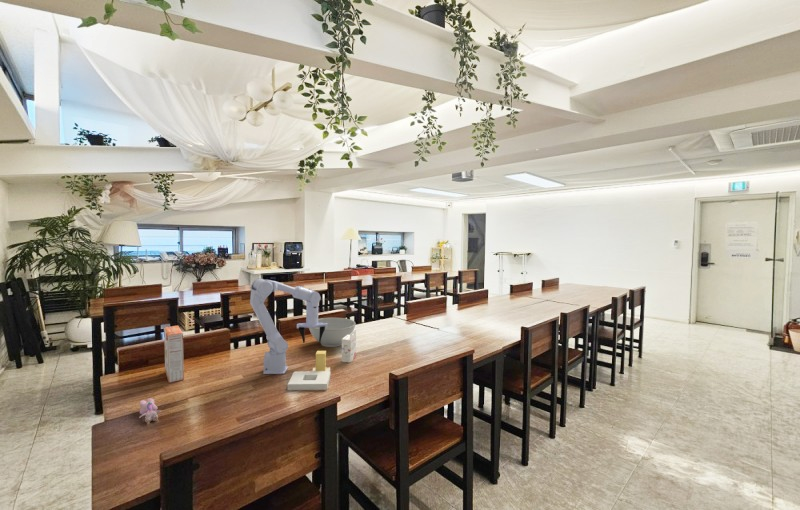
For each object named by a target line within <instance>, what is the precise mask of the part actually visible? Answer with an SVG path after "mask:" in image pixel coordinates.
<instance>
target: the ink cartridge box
mask: <svg viewBox="0 0 800 510" xmlns="http://www.w3.org/2000/svg"><path fill="white" fill-rule="evenodd" d="M356 331H357V330H356V329H354V330H353V332H352V333H351V334H350V335H346V336H345V337H344V338H343V339H342V345H341V362H342V363H351V362H352V361H354V359H355V358H356V356H357V355H356V353H357V352H356V351H357V345H356V344H357V333H356Z"/></svg>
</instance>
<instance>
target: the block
mask: <svg viewBox="0 0 800 510" xmlns="http://www.w3.org/2000/svg"><path fill="white" fill-rule="evenodd" d="M326 367H327V350H317V351H316V353H315V368H316V371H326Z"/></svg>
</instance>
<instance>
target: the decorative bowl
mask: <svg viewBox="0 0 800 510" xmlns="http://www.w3.org/2000/svg"><path fill="white" fill-rule="evenodd" d="M318 323H327V328H325V330H324V332H323V335H322V337H321V342H319V337H320V328H308V329H309V331H310V334H311V336H312V338H314V340H316V341H317V342H319V343H320V344H321V346H322V347H325V348H335V347H340V346H342V339H343V338H344V337H345V336H346V335H350V334H351V333H352V332H353V331H354V330H355V327H356V321H354V320H353V319H349V318H345V317H323V318H322V317H321V318H318Z"/></svg>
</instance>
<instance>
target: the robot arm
mask: <svg viewBox="0 0 800 510" xmlns="http://www.w3.org/2000/svg"><path fill="white" fill-rule="evenodd" d="M277 291H280V292H284V293H287V294H288V293H289V294H290V295H292V298H294V299H298V300H301V301H305V302H306V307H305V308H306V315H305V316H306V317H305V318H306V319H305V321H306V322H302V323H300V322H299V323H297V324H296V329H298V332H299V333H300V336H301V339H302V343H303V344H304V343H305V342H306V336H305V335H306V334H305V332H306V330H305V329H309V328H320V337H319V343H320V342H321V337H322V335H323V332H324V330H325V328H327V323H318V319H319V303H320V301H321V300H322V299H321V298H322V297H321V295H320V293H319V292H318V291H315V290H313V289H312V288H305V287H304V285H296V286H290V285H287V284H285V283H282V282H279V281H276V280H271V279H264V278H256V279H254V280H253V282H252V284H251V286H250V297H249V298H250V299H249V304H250V306H251V308H252V309H253V312H254V313H255V315H256V318H257V320H258V321H259V323H260V325H261V327H262V329H263V332H264V333H265V335H266V340H267V346H268V348H269V351H266V352H265V353H264V355H263V372H262V375H284V374H285V373H286V372H287V370H288V368H289V366H287V350H288V348H289V343H288V342H287V341H286V340H285V339H284V338H283V336H282V335H281V334H280V332H279V331H278V329H277V327H276V325H275V323H274V321H273V319H272V316H271V315H270V312H269V311H268V309H267V307H266V305H265V301H266V299H267V298H268V297H269V296H270V295H271V294H272V292H273V293H275V292H277Z"/></svg>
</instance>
